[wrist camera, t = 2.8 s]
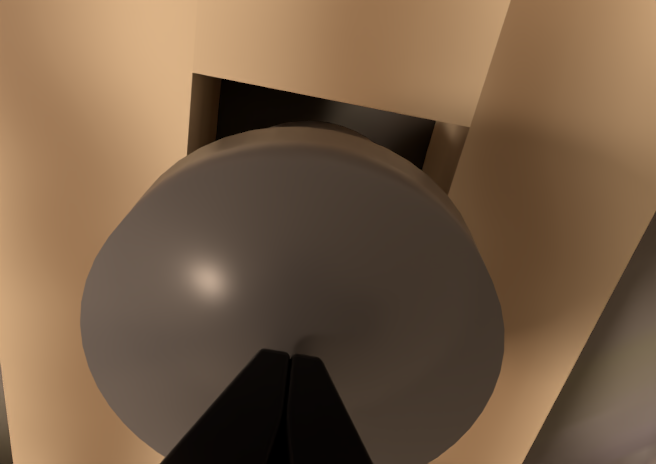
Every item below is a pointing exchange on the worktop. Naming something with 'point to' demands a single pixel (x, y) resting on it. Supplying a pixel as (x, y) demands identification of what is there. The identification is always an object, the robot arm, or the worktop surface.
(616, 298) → the worktop surface
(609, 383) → the worktop surface
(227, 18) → the mount board
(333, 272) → the knob
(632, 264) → the worktop surface
